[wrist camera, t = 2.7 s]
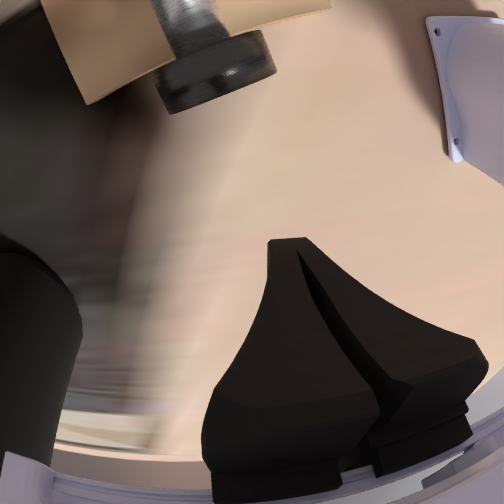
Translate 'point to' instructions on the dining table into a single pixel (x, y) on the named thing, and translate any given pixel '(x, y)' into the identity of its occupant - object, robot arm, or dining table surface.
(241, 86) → the shaft
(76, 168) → the dining table surface
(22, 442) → the coffee jar
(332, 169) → the dining table surface
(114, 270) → the dining table surface
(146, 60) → the base board
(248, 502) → the robot arm
